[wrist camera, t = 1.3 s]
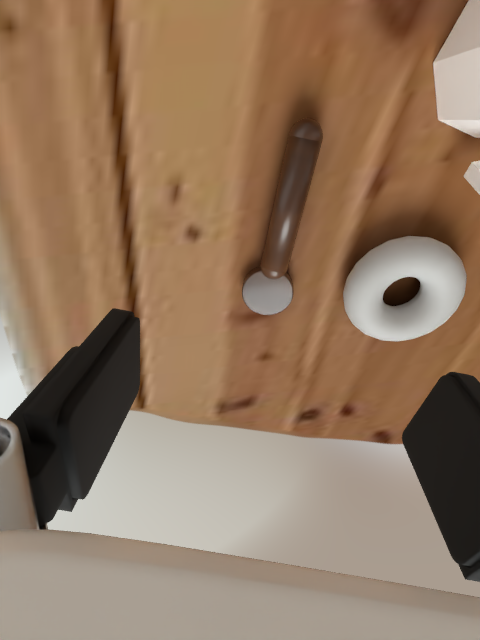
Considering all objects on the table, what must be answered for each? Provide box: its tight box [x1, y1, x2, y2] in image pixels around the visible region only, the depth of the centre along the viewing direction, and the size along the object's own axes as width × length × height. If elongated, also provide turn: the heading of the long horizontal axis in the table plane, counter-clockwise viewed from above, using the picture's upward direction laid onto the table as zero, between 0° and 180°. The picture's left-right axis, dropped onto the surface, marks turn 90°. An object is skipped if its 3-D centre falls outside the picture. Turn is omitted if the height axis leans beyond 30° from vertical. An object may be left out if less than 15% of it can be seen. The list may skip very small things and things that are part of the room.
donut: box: [343, 236, 466, 341], centre depth 28 cm, size 10×4×10 cm
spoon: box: [242, 118, 323, 315], centre depth 26 cm, size 16×5×2 cm, turn 170°
